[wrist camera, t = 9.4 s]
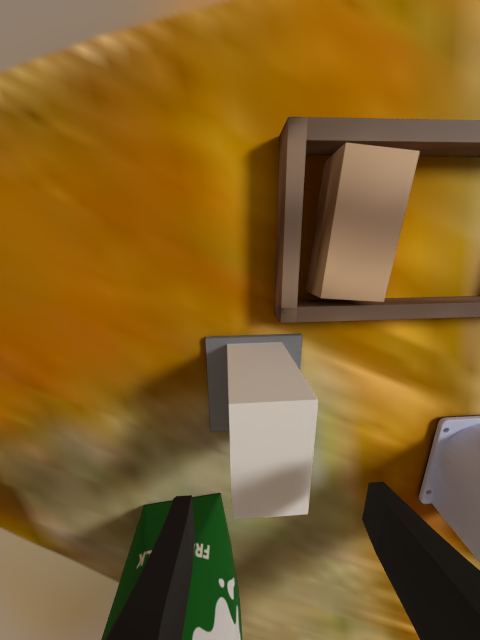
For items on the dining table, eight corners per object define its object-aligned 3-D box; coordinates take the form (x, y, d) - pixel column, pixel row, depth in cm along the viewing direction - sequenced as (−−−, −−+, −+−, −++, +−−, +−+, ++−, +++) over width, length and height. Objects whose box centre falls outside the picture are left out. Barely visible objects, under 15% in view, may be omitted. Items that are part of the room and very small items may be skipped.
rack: (507, 308, 18) (541, 315, 16) (274, 314, 17) (280, 322, 15) (560, 139, 15) (609, 122, 13) (279, 135, 14) (288, 116, 12)
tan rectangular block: (357, 293, 17) (383, 301, 15) (304, 290, 17) (320, 298, 14) (382, 169, 15) (419, 150, 12) (322, 163, 15) (346, 142, 12)
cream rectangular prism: (278, 422, 19) (307, 514, 13) (229, 425, 19) (232, 520, 12) (282, 341, 17) (318, 399, 11) (227, 343, 17) (228, 403, 10)
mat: (295, 423, 20) (296, 427, 20) (210, 428, 20) (210, 432, 19) (300, 333, 18) (302, 335, 17) (205, 336, 17) (205, 338, 17)
